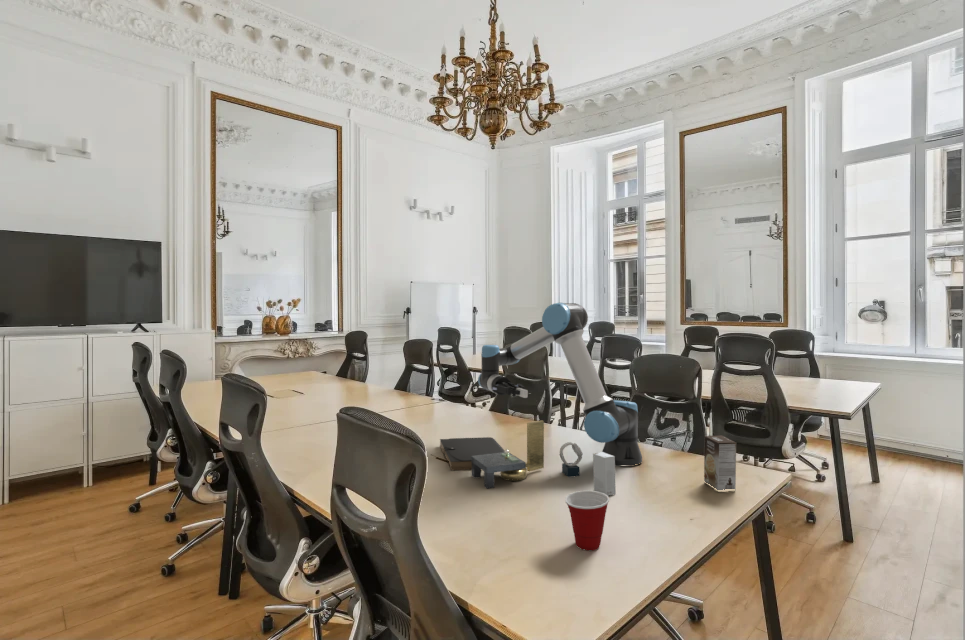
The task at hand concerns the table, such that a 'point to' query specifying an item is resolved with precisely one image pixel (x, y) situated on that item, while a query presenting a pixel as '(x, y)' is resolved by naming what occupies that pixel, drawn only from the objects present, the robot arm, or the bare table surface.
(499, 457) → the levelling stand
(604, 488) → the skincare box
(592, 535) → the plastic cup
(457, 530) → the table surface
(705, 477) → the coffee box
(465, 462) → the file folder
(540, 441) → the brass panel with base
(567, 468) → the watch
